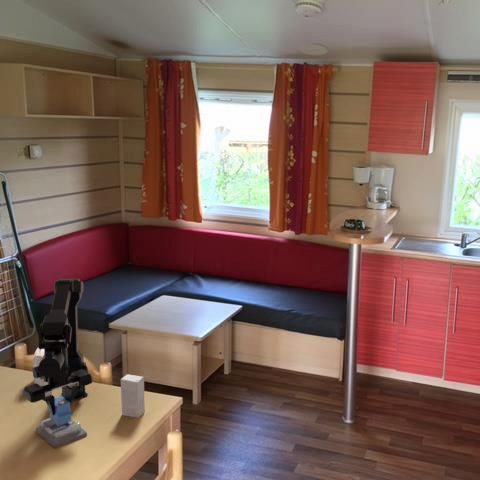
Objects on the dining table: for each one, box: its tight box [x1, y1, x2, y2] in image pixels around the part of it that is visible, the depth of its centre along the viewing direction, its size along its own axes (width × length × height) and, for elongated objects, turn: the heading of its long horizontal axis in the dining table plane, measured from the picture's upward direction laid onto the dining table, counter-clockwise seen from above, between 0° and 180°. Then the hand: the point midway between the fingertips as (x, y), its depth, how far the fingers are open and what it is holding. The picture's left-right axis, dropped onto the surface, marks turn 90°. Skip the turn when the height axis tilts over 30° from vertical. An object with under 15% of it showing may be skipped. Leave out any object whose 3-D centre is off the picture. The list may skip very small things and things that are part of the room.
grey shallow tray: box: [35, 417, 88, 449], centre depth 173 cm, size 10×12×4 cm
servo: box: [46, 395, 74, 426], centre depth 172 cm, size 4×8×7 cm, turn 43°
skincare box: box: [120, 373, 146, 419], centre depth 184 cm, size 6×4×12 cm
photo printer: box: [32, 346, 48, 386], centre depth 205 cm, size 10×4×12 cm, turn 5°
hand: (60, 412), depth 172 cm, fingers closed on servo, 4 cm apart
